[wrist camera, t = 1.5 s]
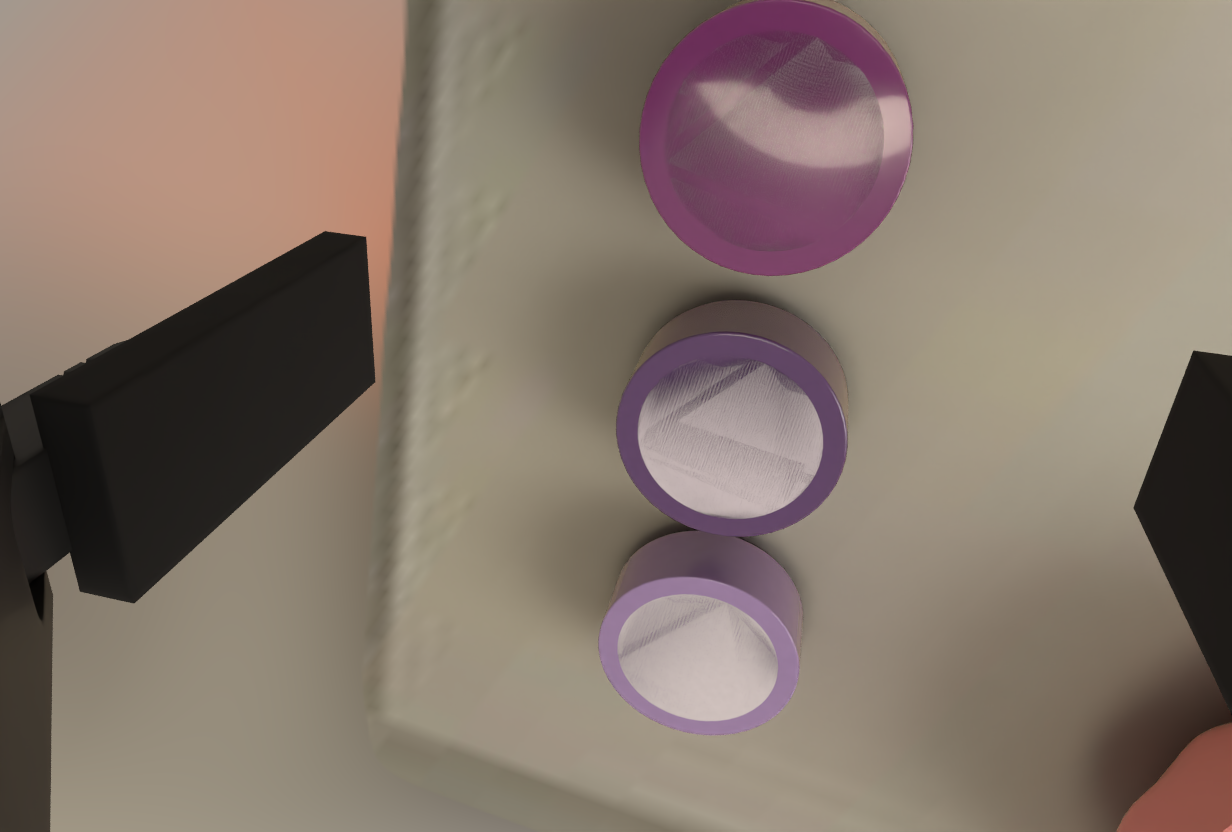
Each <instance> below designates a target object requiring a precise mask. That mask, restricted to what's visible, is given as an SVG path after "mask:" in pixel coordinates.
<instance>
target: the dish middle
mask: <svg viewBox="0 0 1232 832" xmlns="http://www.w3.org/2000/svg"><path fill="white" fill-rule="evenodd" d="M616 436H617V444H618V448H619V452H620V456H621V459H622V461H623V464H624V466H625V468H626V471H627V473H628V474H629V476H630V478H631V479H632V481H633V483H634V484H635V485H636V487H637V488H638V489H639V491H640V492H641V493H642V494H643V495H644V496H645V497H646V498H647V499H648V500H649V501H650V502H651V503H652V504H653V505H654V506H655V507H656V508H658V509H659V510H660V511H661V512H663V513H664V514H666V515H667V516H669V517H671V518H672V519H674V520H676V521H678V522H680V523H682V524H684V525H686V526H688V527H691V528H694V529H696V530H699V531H702V532H706V533H711V534H715V535H722V536H733V537H746V536H757V535H762V534H767V533H772V532H775V531H778V530H781V529H784V528H786V527H788V526H790V525H793V524H795V523H797V522H798V521H800V520H802V519H803V518H805V517H806V516H808V515H809V514H810V513H812V512H813V511H814V510H815V509H816V508H818V507H819V506H820V505H821V504H822V503H823V501H824V500H825V499H826V498H827V497H828V496H829V495H830V493H831V492H832V490H833V489H834V487H835V486H836V484H837V482H838V480H839V478H840V475H841V473H842V471H843V467H844V464H845V461H846V455H847V448H848V390H847V384H846V379H845V376H844V373H843V370H842V367H841V365H840V363H839V361H838V359H837V357H836V355H835V353H834V352H833V350H832V349H831V347H830V346H829V344H828V343H827V342H826V341H825V340H824V339H823V338H822V336H821V335H820V334H819V333H818V332H817V331H815V330H814V329H813V328H812V327H811V326H810V325H808V324H807V323H806V322H804V321H803V320H801V319H800V318H798V317H797V316H795V315H793V314H791V313H789V312H787V311H785V310H783V309H780V308H777V307H774V306H771V305H768V304H764V303H759V302H755V301H745V300H724V301H718V302H712V303H707V304H704V305H701V306H697V307H695V308H692V309H690V310H688V311H686V312H683V313H682V314H680V315H678V316H677V317H675V318H674V319H672V320H671V321H669V322H668V323H667V324H666V325H665V326H663V327H662V328H661V329H660V330H659V331H658V332H657V333H656V335H655V336H654V337H653V338H652V339H651V341H650V342H649V344H648V345H647V346H646V348H645V350H644V352H643V354H642V356H641V358H640V360H639V362H638V364H637V366H636V368H635V370H634V372H633V373H632V375H631V377H630V379H629V381H628V383H627V386H626V388H625V390H624V392H623V394H622V397H621V400H620V403H619V406H618V412H617V418H616Z"/></svg>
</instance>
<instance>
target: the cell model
mask: <svg viewBox="0 0 1232 832" xmlns="http://www.w3.org/2000/svg"><path fill="white" fill-rule="evenodd" d="M1116 832H1232V722H1230V723H1226V724H1222V725H1219V726H1216V727H1214V728H1211V729H1209V730H1207V731H1204V732H1202V733H1201V734H1199V735H1198V736H1196V737H1195V738H1194V739H1192V740H1191V741H1190V742H1189V743H1188V744H1187V745H1186V747H1185V748H1184V749H1183V750H1182V751H1181V752H1180V754H1179V755H1178V756H1177V757H1176V759H1175V760H1174V761H1173V763H1172V764H1171V765H1170V766H1169V768H1168V769H1167V770H1166V771H1165V772H1164V774H1163V775H1162V776H1161V777H1160V778H1159V780H1158V781H1157V782H1156V783H1155V784H1154V785H1153V786H1152V787H1151V788H1149V789H1148V790H1147V791H1146V792H1145V793H1144V794H1143V795H1142V796H1141V797H1140V798H1139V799H1137V800H1136V801H1135V802H1134V803H1133V804H1132V805H1131V807H1130V808H1129V809H1128V811H1127V812H1126V813H1125V815H1124V817H1123V819H1122V821H1121V823H1120V825H1119V827H1118V829H1117V831H1116Z"/></svg>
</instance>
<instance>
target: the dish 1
mask: <svg viewBox="0 0 1232 832" xmlns="http://www.w3.org/2000/svg"><path fill="white" fill-rule="evenodd" d="M912 148H913V118H912V109H911V104H910V100H909V96H908V92H907V89H906V85H905V82H904V79H903V76H902V73H901V71H900V68H899V66H898V64H897V61H896V59H895V57H894V55H893V53H892V52H891V50H890V48H889V47H888V45H887V43H886V42H885V41H884V40H883V38H882V37H881V36H880V35H879V33H878V32H877V31H876V30H875V29H874V28H873V27H872V26H871V25H870V24H869V23H868V22H867V21H866V20H865V19H863V18H862V17H861V16H859V15H858V14H856V13H855V12H854V11H852V10H851V9H849V8H847V7H845V6H843V5H841V4H839V3H837V2H835V1H833V0H743V1H740V2H738V3H736V4H733V5H731V6H729V7H728V8H726V9H724V10H722V11H721V12H719V13H717V14H716V15H714V16H712V17H711V18H709V19H707V20H706V21H704V22H702V23H701V24H700V25H698V26H697V27H696V28H695V29H693V30H692V31H691V32H689V33H688V34H687V35H686V36H685V37H684V38H683V39H682V40H681V41H680V42H679V43H678V44H677V45H676V46H675V47H674V49H673V50H672V51H671V52H670V54H669V55H668V56H667V58H666V59H665V60H664V62H663V63H662V65H661V67H660V68H659V70H658V72H657V74H656V75H655V77H654V79H653V81H652V84H651V86H650V89H649V91H648V93H647V96H646V100H645V103H644V107H643V111H642V116H641V123H640V130H639V151H640V161H641V167H642V172H643V176H644V180H645V183H646V186H647V189H648V191H649V194H650V197H651V199H652V201H653V203H654V205H655V207H656V208H657V210H658V212H659V214H660V215H661V217H662V218H663V220H664V221H665V222H666V224H667V225H668V227H669V228H670V229H671V230H672V231H673V232H674V233H675V234H676V235H677V237H678V238H679V239H680V240H681V241H683V242H684V243H685V244H686V245H687V246H689V247H690V248H691V249H692V250H694V251H695V252H697V253H698V254H700V255H701V256H703V257H704V258H706V259H708V260H710V261H712V262H714V263H716V264H718V265H720V266H722V267H725V268H728V269H731V270H734V271H738V272H742V273H747V274H752V275H764V276H779V275H790V274H796V273H802V272H806V271H809V270H812V269H816V268H819V267H822V266H824V265H826V264H828V263H831V262H833V261H835V260H837V259H839V258H840V257H842V256H844V255H845V254H847V253H849V252H850V251H852V250H853V249H854V248H855V247H857V246H858V245H859V244H861V243H862V242H863V241H864V240H866V239H867V238H868V236H869V235H870V234H871V233H872V232H873V231H874V230H875V229H876V228H877V227H878V226H879V225H880V224H881V222H882V221H883V220H884V218H885V217H886V216H887V215H888V213H889V212H890V210H891V208H892V207H893V205H894V203H895V201H896V200H897V198H898V196H899V194H900V191H901V189H902V187H903V184H904V182H905V179H906V176H907V172H908V169H909V165H910V162H911V155H912Z"/></svg>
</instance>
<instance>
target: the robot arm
mask: <svg viewBox="0 0 1232 832" xmlns="http://www.w3.org/2000/svg"><path fill="white" fill-rule="evenodd" d="M372 340H373V338H372V323H371V307H370V291H369V275H368V259H367V244H366V237H363V236H356V235H348V234H341V233H334V232H327V231H325V232H323V233H321V234H319V235H317V236H315V237H314V238H312V239H310V240H308V241H306V242H305V243H303V244H301V245H299V246H297V247H296V248H294V249H292V250H290V251H288V252H287V253H285V254H283V255H281V256H279V257H278V258H276V259H274V260H272V261H270V262H268V263H267V264H265V265H263V266H261V267H260V268H258V269H256V270H254V271H252V272H250V273H249V274H247V275H245V276H243V277H241V278H239V279H238V280H236V281H234V282H232V283H230V284H229V285H227V286H225V287H223V288H222V289H220V290H218V291H216V292H214V293H212V294H211V295H209V296H207V297H205V298H203V299H201V300H200V301H198V302H196V303H194V304H193V305H191V306H189V307H187V308H185V309H183V310H182V311H180V312H178V313H176V314H174V315H173V316H171V317H169V318H167V319H165V320H163V321H162V322H160V323H158V324H156V325H154V326H153V327H151V328H149V329H147V330H146V331H144V332H142V333H140V334H138V335H136V336H134V337H133V338H131V339H129V340H126V341H123V342H120V343H116V344H113V345H112V346H110V347H108V348H106V349H104V350H102V351H101V352H99V353H97V354H95V355H93V356H92V357H90V358H88V359H86V363H82V362H80V363H79V364H77V365H75V366H73V367H71V368H70V369H68V370H66V371H64V375H57V376H55V377H53V378H51V379H50V380H48V381H46V382H44V383H42V384H40V385H38V386H37V387H35V388H33V389H31V390H30V391H28V392H26V393H24V394H22V395H20V396H19V397H17V398H15V399H13V400H11V401H9V402H8V403H6V404H4V405H2V406H1V404H0V832H50V794H51V793H50V792H51V789H50V788H51V710H52V630H53V627H52V626H53V624H52V623H53V622H52V621H53V593H52V590H51V586H50V582H49V579H48V575H47V572H46V570H48V569H49V568H50V567H52V566H53V565H54V564H55V563H57V562H58V561H59V560H60V559H62V558H63V557H64V556H66V555H67V554H68V553H69V552H70V554H71V558H72V562H73V566H74V570H75V574H76V578H77V582H78V586H79V590H80V592H84V593H89V594H94V595H98V596H103V597H107V598H112V599H116V600H121V601H126V602H130V603H135V602H136V601H137V600H139V599H140V598H141V597H142V596H143V595H144V594H145V593H146V592H147V591H148V590H149V589H150V588H152V587H153V586H154V585H155V584H156V583H157V582H158V581H159V580H160V579H161V578H162V577H163V576H165V575H166V574H167V573H168V572H169V571H170V570H171V569H172V568H173V567H174V566H176V565H177V564H178V562H180V561H181V560H182V559H183V558H184V557H185V556H186V555H188V553H190V552H191V551H192V550H193V549H194V548H195V547H196V546H197V545H198V544H199V543H200V542H202V541H203V540H204V539H205V538H206V537H207V536H208V535H209V534H210V533H211V532H213V531H214V530H215V529H216V528H217V527H218V526H219V525H220V524H221V523H222V522H223V521H224V520H226V519H227V518H228V517H229V516H230V515H231V514H232V513H233V512H234V511H235V510H236V509H237V508H239V507H240V506H241V505H242V504H243V503H244V502H245V501H246V500H247V499H248V498H249V497H251V496H252V495H253V494H254V493H255V492H256V491H257V490H258V489H259V488H260V487H261V486H262V485H264V484H265V483H266V482H267V481H268V480H269V479H270V478H271V477H272V476H273V475H274V474H276V472H278V471H279V470H280V469H281V468H282V467H283V466H284V465H285V464H286V463H288V462H289V461H290V460H291V459H292V458H293V457H294V456H295V455H296V454H297V453H298V452H300V451H301V450H302V449H303V448H304V447H305V446H306V445H307V444H308V443H309V442H310V441H311V440H312V439H314V438H315V437H316V436H317V435H318V434H319V433H320V432H321V431H322V430H323V429H325V428H326V427H327V426H328V425H329V424H330V423H331V422H332V421H333V420H334V419H335V418H336V417H338V416H339V415H340V414H341V413H342V412H343V411H344V410H345V409H346V408H347V407H349V406H350V405H351V404H352V403H353V402H354V401H355V400H356V399H357V398H358V397H359V396H360V395H361V394H363V393H364V392H365V391H366V390H367V389H368V388H369V387H370V386H371V385H372V384H374V383H375V369H374V354H373V341H372ZM1133 508H1134V510H1135V512H1136V514H1137V516H1138V518H1139V520H1140V522H1141V525H1142V527H1143V529H1144V531H1145V533H1146V535H1147V537H1148V539H1149V541H1150V543H1151V546H1152V548H1153V550H1154V552H1155V554H1156V556H1157V558H1158V560H1159V562H1160V565H1161V567H1162V569H1163V571H1164V573H1165V575H1166V577H1167V579H1168V581H1169V584H1170V586H1171V588H1172V590H1173V592H1174V594H1175V596H1176V598H1177V600H1178V603H1179V605H1180V607H1181V609H1182V611H1183V613H1184V615H1185V617H1186V619H1187V621H1188V624H1189V626H1190V628H1191V630H1192V632H1193V634H1194V636H1195V638H1196V640H1197V643H1198V645H1199V647H1200V649H1201V651H1202V653H1203V655H1204V657H1205V659H1206V662H1207V664H1208V666H1209V668H1210V670H1211V672H1212V674H1213V676H1214V678H1215V681H1216V683H1217V685H1218V687H1219V689H1220V691H1221V693H1222V695H1223V697H1224V700H1225V702H1226V704H1227V706H1228V708H1229V710H1230V712H1231V714H1232V356H1229V355H1221V354H1214V353H1207V352H1200V351H1193V353H1192V356H1191V358H1190V361H1189V364H1188V366H1187V369H1186V371H1185V374H1184V377H1183V379H1182V382H1181V384H1180V387H1179V390H1178V392H1177V395H1176V398H1175V400H1174V403H1173V405H1172V408H1171V411H1170V413H1169V416H1168V419H1167V421H1166V424H1165V426H1164V429H1163V432H1162V434H1161V437H1160V439H1159V442H1158V445H1157V447H1156V450H1155V453H1154V455H1153V458H1152V460H1151V463H1150V466H1149V468H1148V471H1147V473H1146V476H1145V479H1144V481H1143V484H1142V487H1141V489H1140V492H1139V494H1138V497H1137V500H1136V502H1135V505H1134V507H1133Z"/></svg>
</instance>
